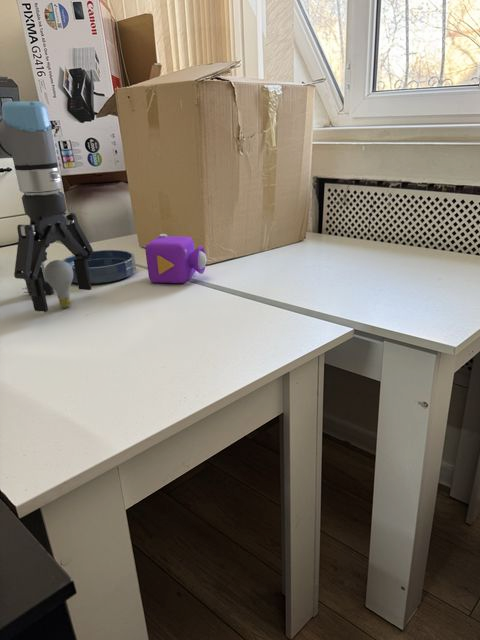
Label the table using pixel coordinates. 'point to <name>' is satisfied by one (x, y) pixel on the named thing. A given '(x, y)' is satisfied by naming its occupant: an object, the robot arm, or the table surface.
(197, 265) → the toy camera
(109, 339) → the table surface
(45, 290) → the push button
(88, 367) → the table surface
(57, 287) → the light bulb
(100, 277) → the bowl
